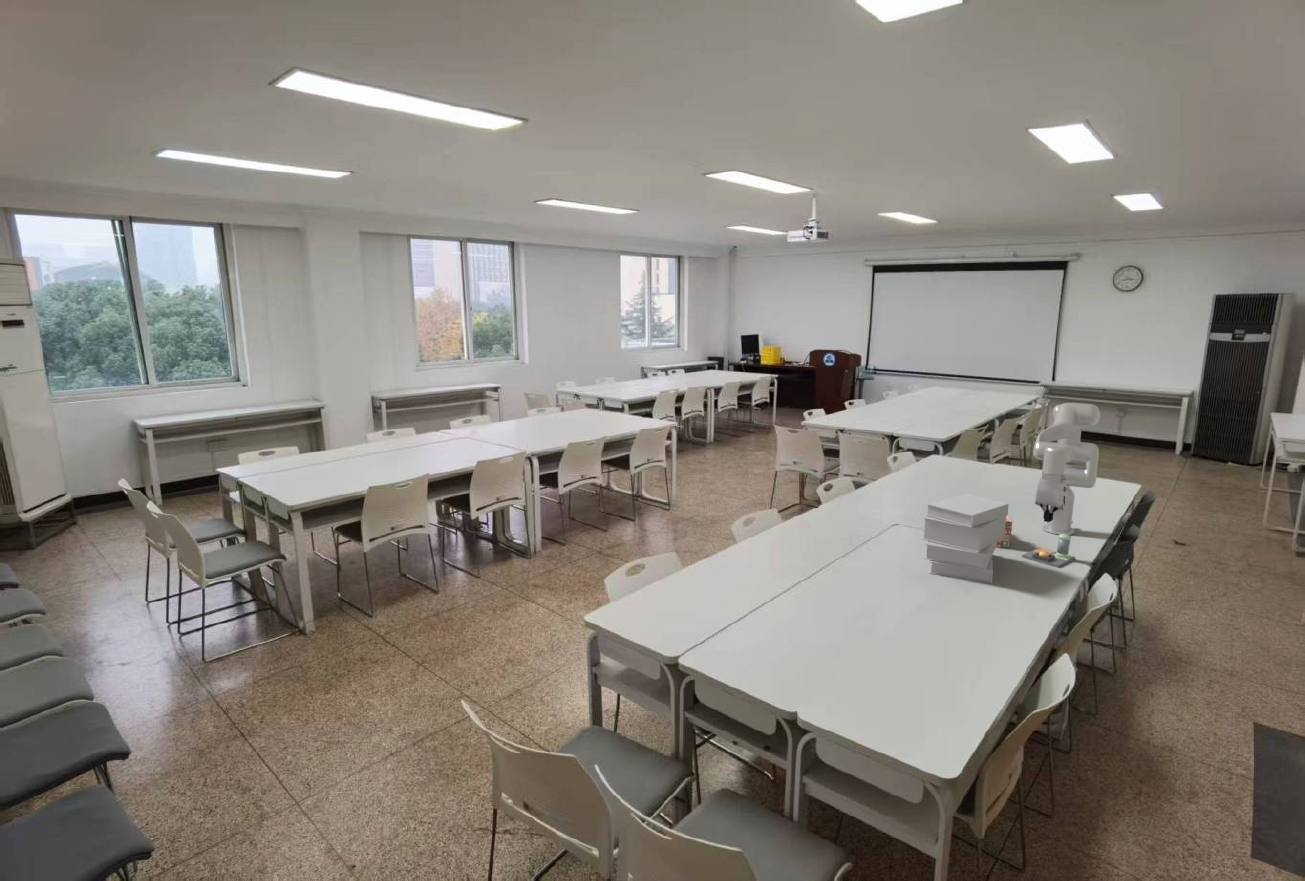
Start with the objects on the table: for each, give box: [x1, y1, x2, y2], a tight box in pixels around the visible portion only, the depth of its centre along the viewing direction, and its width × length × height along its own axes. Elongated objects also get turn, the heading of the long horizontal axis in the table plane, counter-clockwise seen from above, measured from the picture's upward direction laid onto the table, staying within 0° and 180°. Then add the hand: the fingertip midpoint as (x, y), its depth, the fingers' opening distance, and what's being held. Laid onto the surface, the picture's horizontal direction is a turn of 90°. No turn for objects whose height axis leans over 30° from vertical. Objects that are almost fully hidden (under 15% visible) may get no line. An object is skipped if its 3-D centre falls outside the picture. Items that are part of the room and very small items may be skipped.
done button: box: [1039, 551, 1049, 558], centre depth 267 cm, size 4×4×2 cm
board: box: [1021, 547, 1076, 568], centre depth 270 cm, size 15×14×2 cm
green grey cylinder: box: [1056, 534, 1072, 558], centre depth 268 cm, size 4×4×9 cm
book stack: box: [921, 493, 1010, 584], centre depth 263 cm, size 30×35×26 cm
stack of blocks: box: [996, 515, 1014, 549], centre depth 292 cm, size 21×6×12 cm, turn 172°
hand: (1047, 521), depth 264 cm, fingers closed
